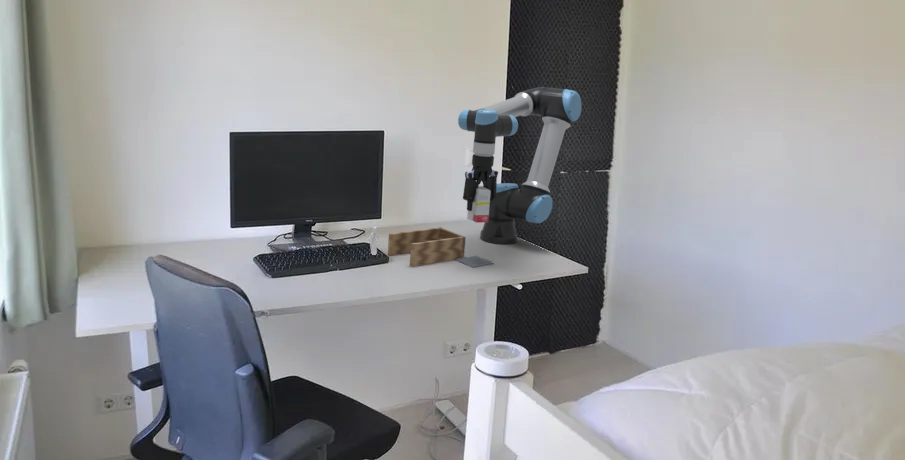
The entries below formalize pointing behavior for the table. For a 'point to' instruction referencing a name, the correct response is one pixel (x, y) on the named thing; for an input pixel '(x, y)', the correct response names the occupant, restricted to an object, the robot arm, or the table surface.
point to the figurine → (373, 241)
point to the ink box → (481, 204)
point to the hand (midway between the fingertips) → (477, 218)
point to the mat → (474, 261)
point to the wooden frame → (427, 245)
